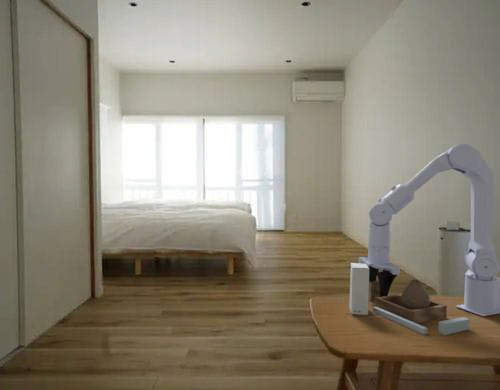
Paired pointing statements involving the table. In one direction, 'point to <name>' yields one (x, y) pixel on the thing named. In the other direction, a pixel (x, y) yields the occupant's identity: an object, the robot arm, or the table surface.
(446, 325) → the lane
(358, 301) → the skincare box
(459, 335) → the table surface
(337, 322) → the table surface
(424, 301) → the vase
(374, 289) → the wooden handled frame
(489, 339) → the table surface
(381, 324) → the table surface
